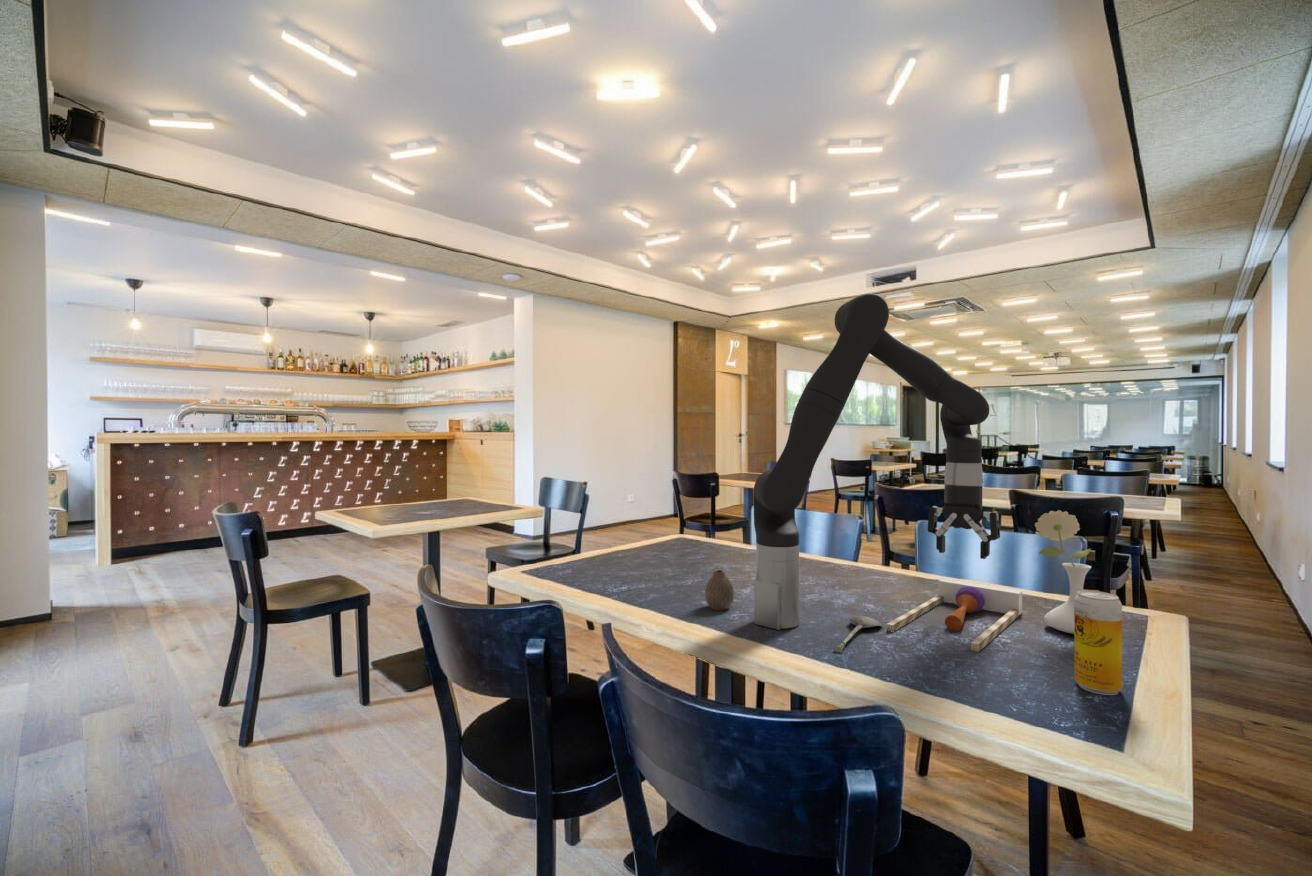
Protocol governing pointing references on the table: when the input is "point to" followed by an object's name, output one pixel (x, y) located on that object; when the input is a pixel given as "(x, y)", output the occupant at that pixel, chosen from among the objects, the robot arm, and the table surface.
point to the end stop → (993, 596)
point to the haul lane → (975, 645)
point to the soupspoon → (857, 629)
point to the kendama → (965, 606)
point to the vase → (719, 591)
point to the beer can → (1098, 642)
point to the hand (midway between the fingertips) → (962, 555)
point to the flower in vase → (1057, 529)
